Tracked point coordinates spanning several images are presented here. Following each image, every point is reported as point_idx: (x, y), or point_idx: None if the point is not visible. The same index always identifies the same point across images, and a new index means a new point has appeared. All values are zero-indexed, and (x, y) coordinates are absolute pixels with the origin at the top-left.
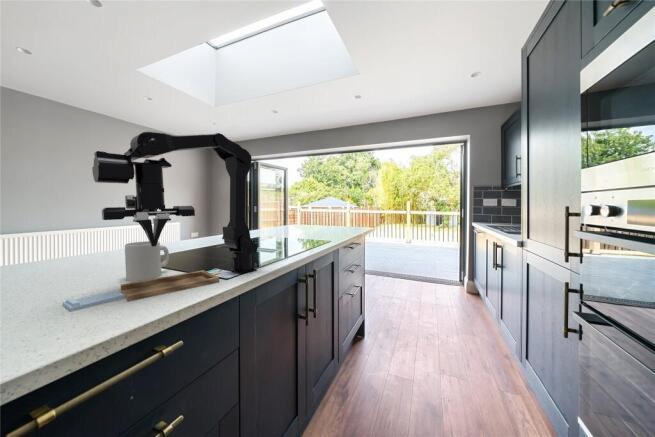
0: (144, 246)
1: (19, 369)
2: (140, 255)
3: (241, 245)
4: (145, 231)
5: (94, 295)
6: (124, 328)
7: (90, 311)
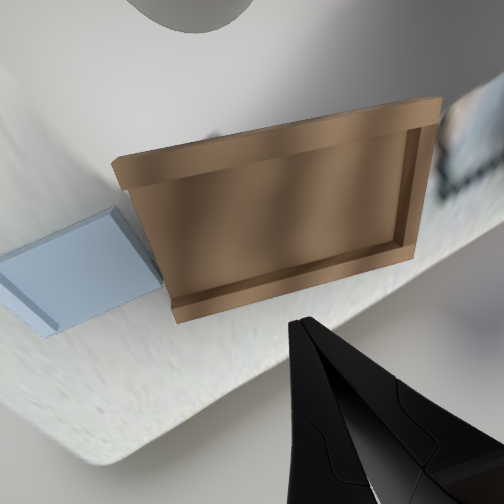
0: None
1: (100, 459)
2: None
3: None
4: (298, 450)
5: (55, 248)
6: (194, 403)
7: None
